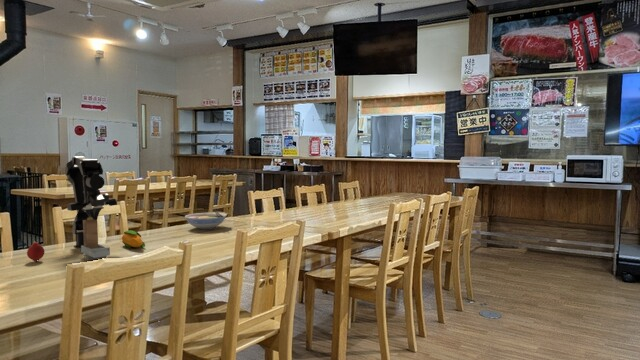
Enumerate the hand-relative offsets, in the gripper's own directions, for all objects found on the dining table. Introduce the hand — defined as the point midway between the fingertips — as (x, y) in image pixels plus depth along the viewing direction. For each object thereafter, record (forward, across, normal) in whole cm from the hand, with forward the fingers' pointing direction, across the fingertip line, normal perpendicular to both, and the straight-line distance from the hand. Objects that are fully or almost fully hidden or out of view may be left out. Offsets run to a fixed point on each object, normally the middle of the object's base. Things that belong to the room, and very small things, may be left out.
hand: (94, 224), depth 198 cm
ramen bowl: (+14, +64, +15) cm, 67 cm away
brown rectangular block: (+8, -6, -10) cm, 14 cm away
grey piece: (+12, -6, -15) cm, 20 cm away
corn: (+13, +14, -5) cm, 20 cm away
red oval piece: (+11, -24, -2) cm, 26 cm away
